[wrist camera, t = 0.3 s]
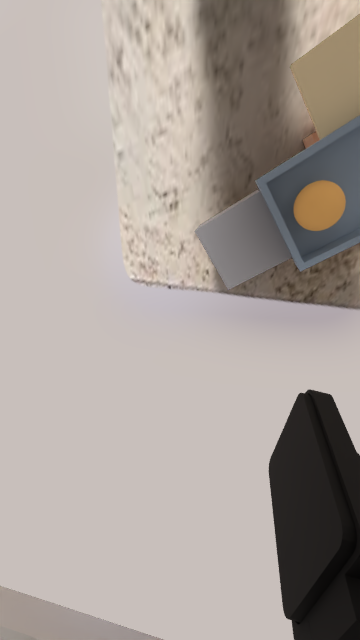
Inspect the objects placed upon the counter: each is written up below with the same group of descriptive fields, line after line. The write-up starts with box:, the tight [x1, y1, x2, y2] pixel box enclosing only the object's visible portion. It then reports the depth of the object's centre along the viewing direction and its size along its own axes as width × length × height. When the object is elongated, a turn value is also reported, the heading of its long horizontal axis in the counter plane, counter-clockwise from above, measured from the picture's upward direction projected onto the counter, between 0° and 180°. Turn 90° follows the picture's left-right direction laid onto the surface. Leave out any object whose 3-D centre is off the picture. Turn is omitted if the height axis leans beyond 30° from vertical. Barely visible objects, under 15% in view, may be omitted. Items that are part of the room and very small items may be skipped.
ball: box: [293, 180, 346, 231], centre depth 26 cm, size 4×4×4 cm
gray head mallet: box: [195, 14, 360, 290], centre depth 28 cm, size 19×15×7 cm
